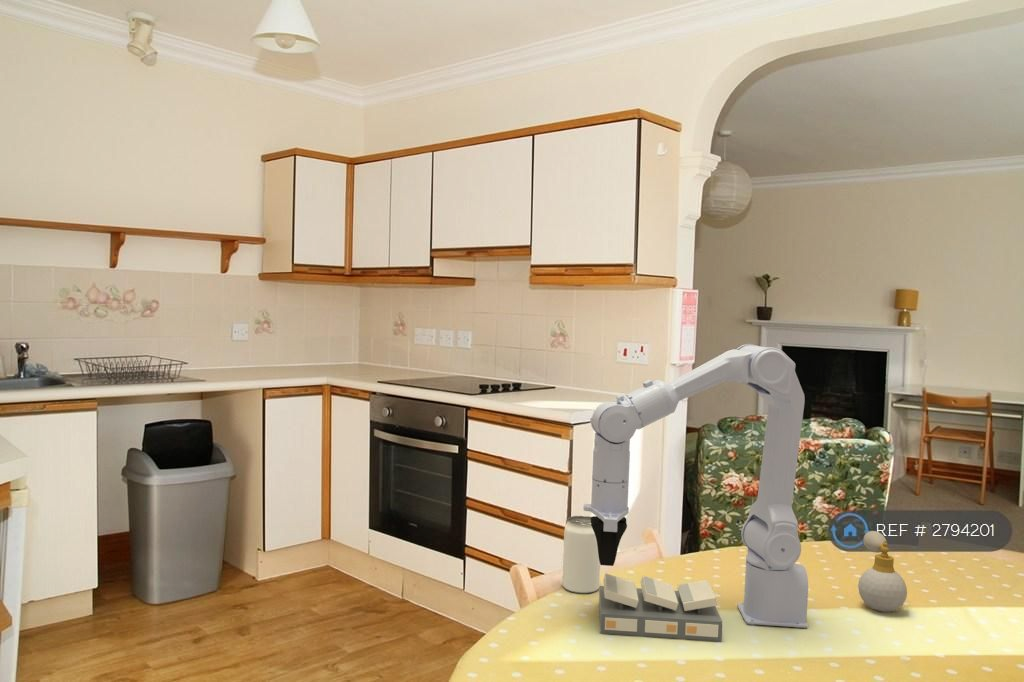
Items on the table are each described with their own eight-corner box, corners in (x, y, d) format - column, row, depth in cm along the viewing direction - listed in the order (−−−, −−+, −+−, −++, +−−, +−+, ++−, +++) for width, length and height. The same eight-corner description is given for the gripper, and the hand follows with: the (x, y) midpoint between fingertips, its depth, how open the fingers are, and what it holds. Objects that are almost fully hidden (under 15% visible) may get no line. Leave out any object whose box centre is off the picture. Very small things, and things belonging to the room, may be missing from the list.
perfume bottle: (880, 620, 132) (885, 547, 131) (837, 598, 141) (841, 530, 140) (916, 615, 134) (920, 544, 134) (871, 594, 143) (875, 527, 143)
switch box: (709, 610, 133) (710, 588, 133) (721, 642, 121) (723, 617, 121) (598, 603, 134) (599, 581, 134) (600, 634, 122) (601, 609, 122)
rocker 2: (709, 586, 131) (707, 579, 131) (717, 605, 123) (715, 597, 123) (678, 592, 131) (676, 584, 131) (684, 611, 123) (682, 602, 123)
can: (597, 596, 138) (600, 526, 137) (559, 592, 139) (562, 523, 139) (600, 583, 144) (603, 516, 144) (564, 579, 146) (567, 513, 145)
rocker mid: (670, 591, 131) (672, 584, 131) (676, 610, 123) (678, 602, 123) (640, 582, 132) (642, 574, 132) (644, 600, 124) (646, 592, 124)
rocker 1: (632, 589, 132) (635, 581, 132) (636, 607, 124) (638, 600, 124) (603, 580, 132) (605, 572, 132) (604, 598, 124) (607, 590, 124)
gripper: (584, 468, 135) (581, 548, 136) (585, 488, 120) (581, 578, 121) (627, 470, 134) (623, 551, 135) (632, 491, 120) (628, 581, 121)
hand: (606, 564), depth 128 cm, fingers closed
